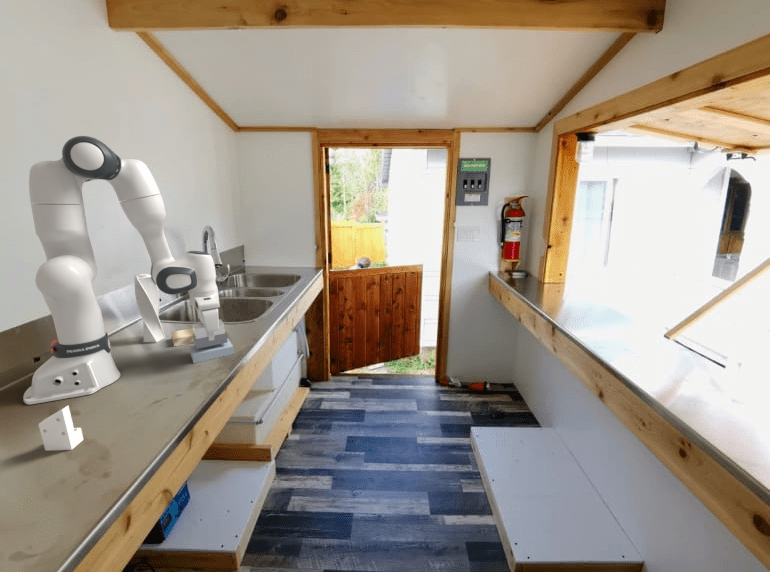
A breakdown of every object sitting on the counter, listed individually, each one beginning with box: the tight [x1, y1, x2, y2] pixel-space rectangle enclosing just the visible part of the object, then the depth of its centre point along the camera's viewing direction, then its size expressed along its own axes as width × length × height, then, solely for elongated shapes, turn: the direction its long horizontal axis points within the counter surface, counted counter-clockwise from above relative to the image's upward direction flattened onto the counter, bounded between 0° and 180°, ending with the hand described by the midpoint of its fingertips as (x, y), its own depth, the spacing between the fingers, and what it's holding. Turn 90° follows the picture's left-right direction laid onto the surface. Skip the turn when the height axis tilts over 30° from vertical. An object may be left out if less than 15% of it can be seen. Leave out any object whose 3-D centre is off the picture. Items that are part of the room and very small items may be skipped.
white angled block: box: [37, 405, 85, 452], centre depth 86 cm, size 4×10×9 cm
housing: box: [192, 318, 228, 349], centre depth 133 cm, size 10×6×7 cm, turn 123°
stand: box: [188, 338, 235, 364], centre depth 135 cm, size 13×9×3 cm
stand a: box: [170, 327, 194, 348], centre depth 149 cm, size 13×9×3 cm
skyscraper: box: [133, 270, 169, 344], centre depth 146 cm, size 8×8×28 cm
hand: (209, 336), depth 134 cm, fingers closed on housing, 6 cm apart
